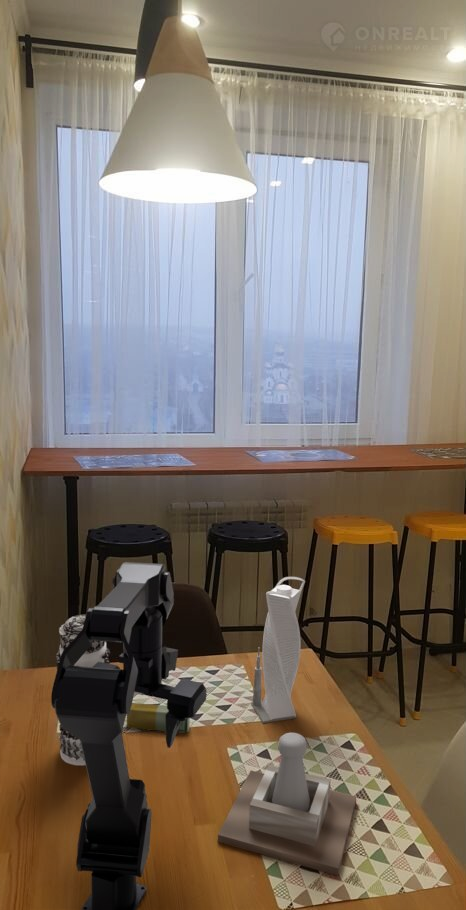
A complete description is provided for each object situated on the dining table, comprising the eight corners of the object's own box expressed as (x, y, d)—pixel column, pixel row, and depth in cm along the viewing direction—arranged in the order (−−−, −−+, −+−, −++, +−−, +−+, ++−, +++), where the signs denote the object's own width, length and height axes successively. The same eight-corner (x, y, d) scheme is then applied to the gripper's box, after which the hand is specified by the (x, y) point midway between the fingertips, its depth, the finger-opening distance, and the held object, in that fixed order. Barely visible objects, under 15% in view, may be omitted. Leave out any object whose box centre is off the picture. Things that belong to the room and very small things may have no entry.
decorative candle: (85, 729, 128) (83, 604, 123) (121, 747, 123) (120, 618, 118) (46, 753, 120) (43, 621, 116) (83, 773, 115) (81, 636, 111)
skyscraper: (289, 698, 141) (295, 570, 135) (305, 719, 133) (312, 584, 128) (251, 704, 138) (255, 573, 133) (264, 726, 130) (270, 588, 125)
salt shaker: (307, 830, 102) (309, 751, 99) (269, 824, 103) (271, 746, 101) (310, 804, 107) (313, 729, 105) (275, 799, 108) (276, 724, 106)
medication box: (190, 726, 130) (190, 706, 130) (187, 734, 128) (188, 714, 127) (129, 720, 132) (129, 701, 131) (125, 728, 129) (125, 708, 128)
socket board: (337, 875, 95) (340, 843, 94) (217, 841, 101) (218, 810, 100) (356, 802, 110) (358, 774, 109) (250, 776, 116) (251, 749, 115)
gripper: (220, 632, 105) (217, 724, 108) (113, 613, 111) (113, 700, 114) (192, 665, 95) (191, 765, 98) (76, 642, 101) (78, 737, 104)
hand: (142, 739), depth 103 cm, fingers open, 9 cm apart
